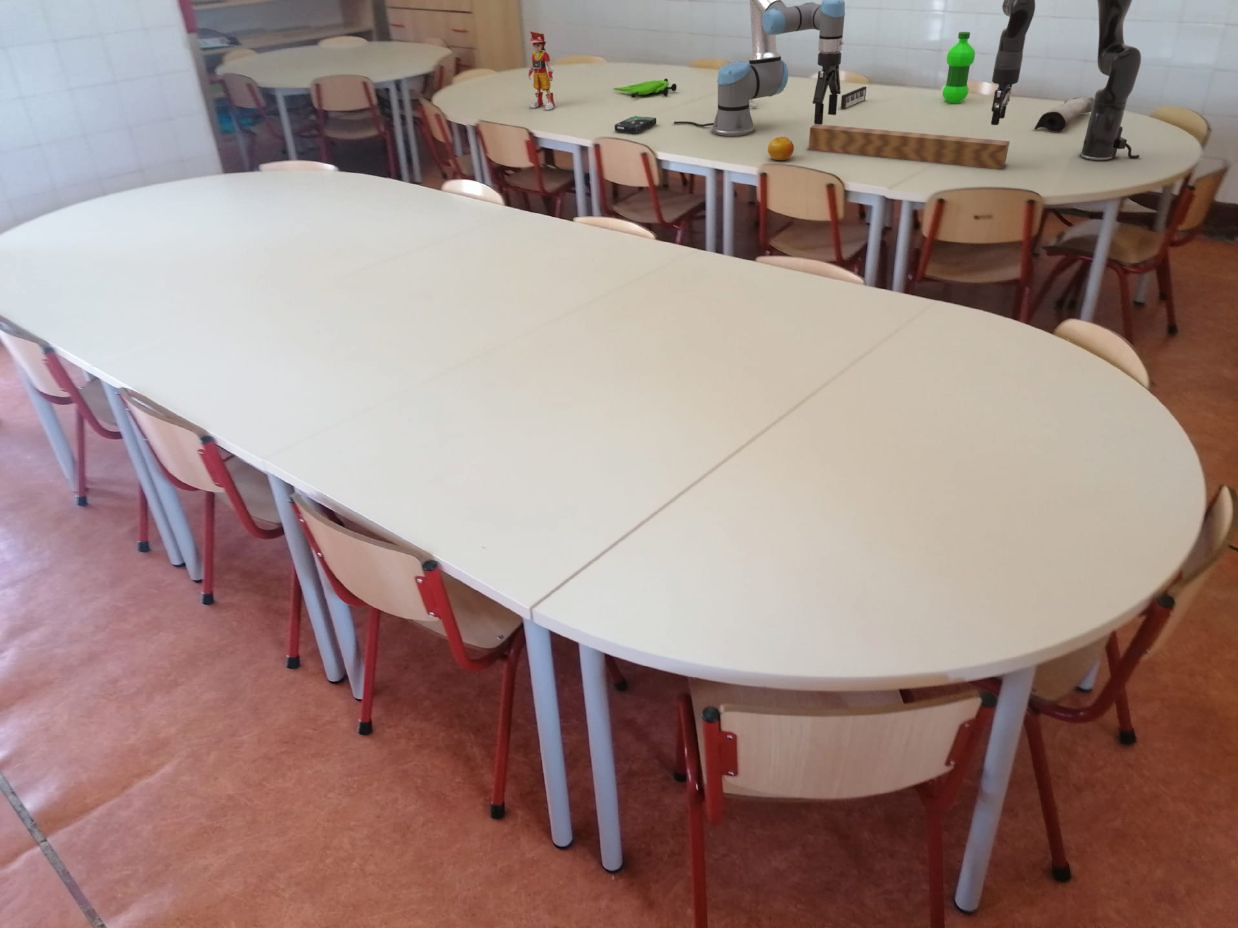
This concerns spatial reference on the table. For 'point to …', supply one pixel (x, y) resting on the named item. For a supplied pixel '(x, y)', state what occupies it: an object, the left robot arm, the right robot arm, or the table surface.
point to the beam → (909, 146)
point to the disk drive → (635, 124)
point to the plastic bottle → (958, 69)
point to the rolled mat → (1065, 114)
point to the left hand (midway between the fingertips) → (825, 119)
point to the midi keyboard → (853, 97)
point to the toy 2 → (648, 88)
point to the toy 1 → (541, 71)
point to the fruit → (780, 148)
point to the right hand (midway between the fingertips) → (997, 121)
